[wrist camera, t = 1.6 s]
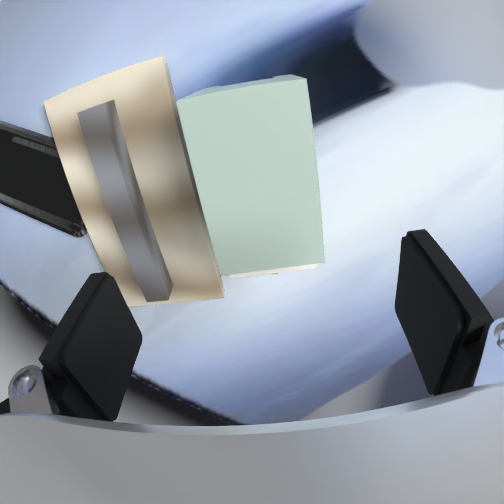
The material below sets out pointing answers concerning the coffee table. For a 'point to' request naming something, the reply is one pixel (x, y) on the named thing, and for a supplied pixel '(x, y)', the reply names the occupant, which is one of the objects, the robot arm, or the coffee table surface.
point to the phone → (36, 180)
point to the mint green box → (256, 174)
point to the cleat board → (152, 175)
